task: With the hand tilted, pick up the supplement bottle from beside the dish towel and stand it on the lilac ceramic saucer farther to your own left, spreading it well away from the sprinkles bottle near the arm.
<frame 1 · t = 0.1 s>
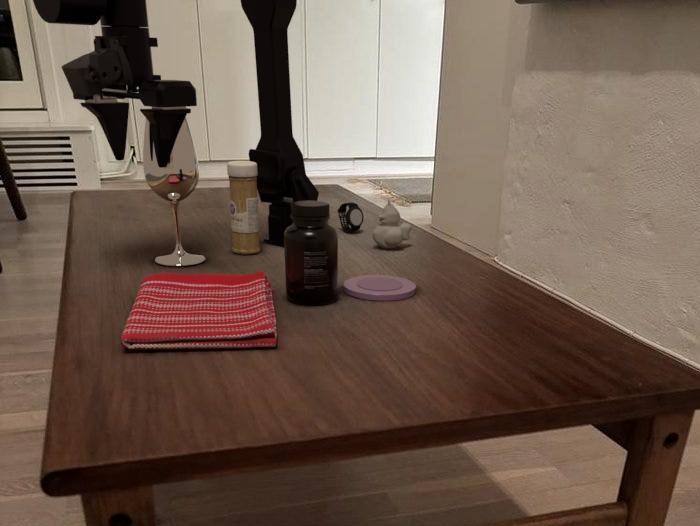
hand: (140, 163, 99), 15 cm above the table, tool pointing down, fingers open, 9 cm apart
sprinkles bottle: (246, 253, 119), on the table
smartwatch: (350, 232, 134), on the table
dish towel: (204, 319, 89), on the table
supplement bottle: (311, 300, 97), on the table
rubber duck: (391, 249, 124), on the table
wineglass: (180, 262, 113), on the table
saucer: (379, 290, 102), on the table
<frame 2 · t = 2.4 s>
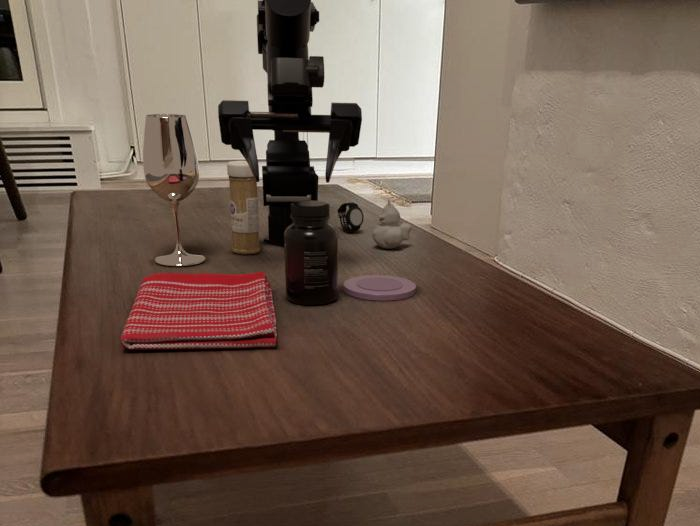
hand: (292, 180, 97), 13 cm above the table, tool tilted 40°, fingers open, 9 cm apart
nothing on the table moved.
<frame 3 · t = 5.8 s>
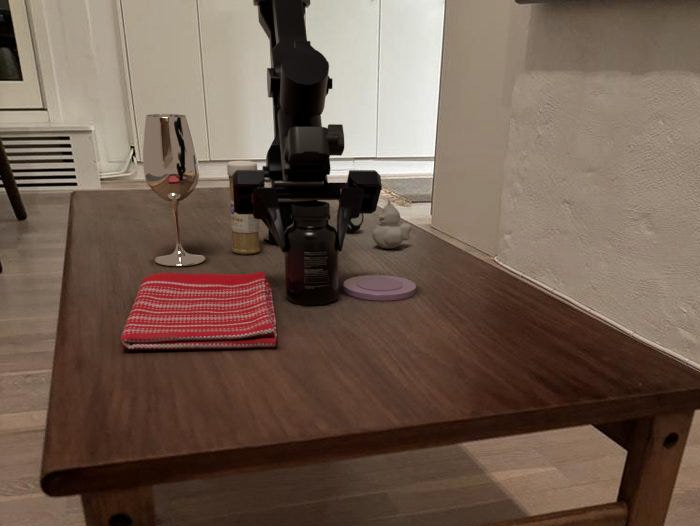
hand: (312, 250, 93), 7 cm above the table, tool tilted 45°, fingers closed on supplement bottle, 7 cm apart
supplement bottle: (311, 300, 97), on the table, touching gripper
everything else where it was.
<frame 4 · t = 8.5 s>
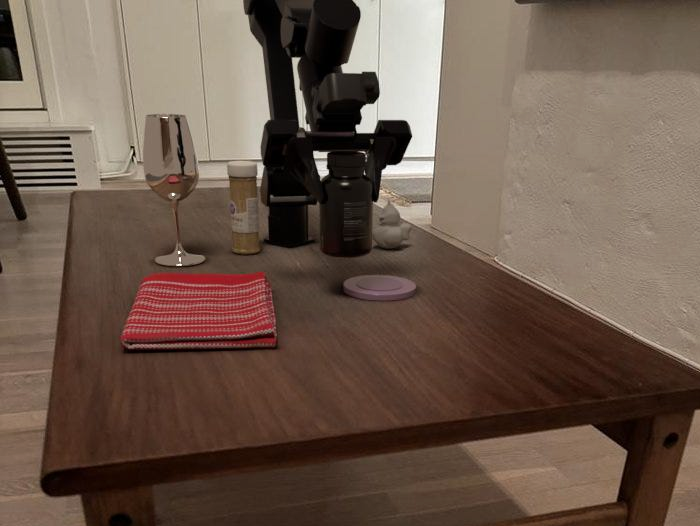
hand: (349, 201, 92), 12 cm above the table, tool tilted 45°, fingers closed on supplement bottle, 7 cm apart
supplement bottle: (345, 254, 96), point 5 cm above the table, touching gripper
everything else where it was.
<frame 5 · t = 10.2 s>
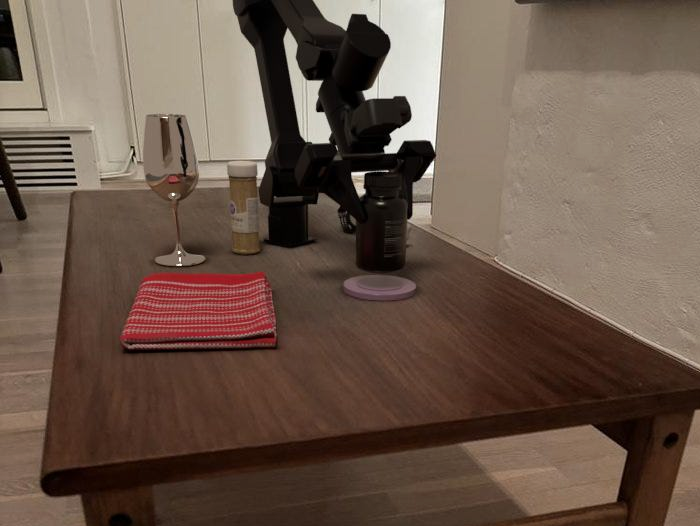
hand: (386, 219, 96), 10 cm above the table, tool tilted 45°, fingers closed on supplement bottle, 7 cm apart
supplement bottle: (379, 269, 100), point 3 cm above the table, touching gripper
everything else where it was.
when the fingers open (8 cm above the table, at t = 11.4 s): supplement bottle stays where it is, resting on saucer.
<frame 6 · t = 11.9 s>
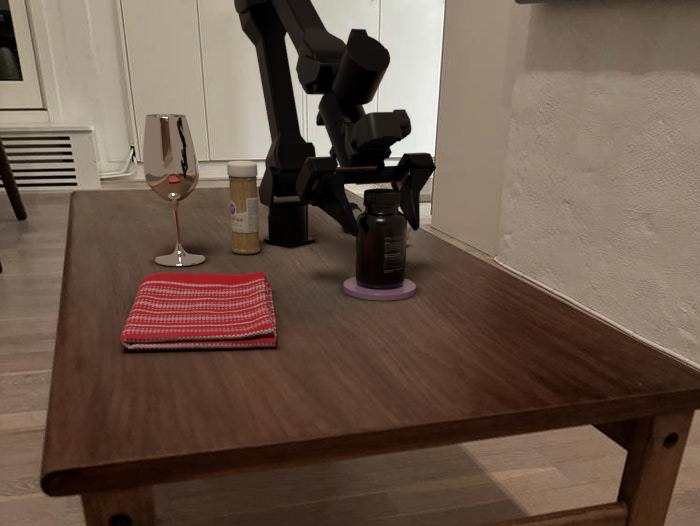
hand: (387, 231, 96), 8 cm above the table, tool tilted 45°, fingers open, 9 cm apart
supplement bottle: (379, 284, 101), point 1 cm above the table, touching saucer
everything else where it was.
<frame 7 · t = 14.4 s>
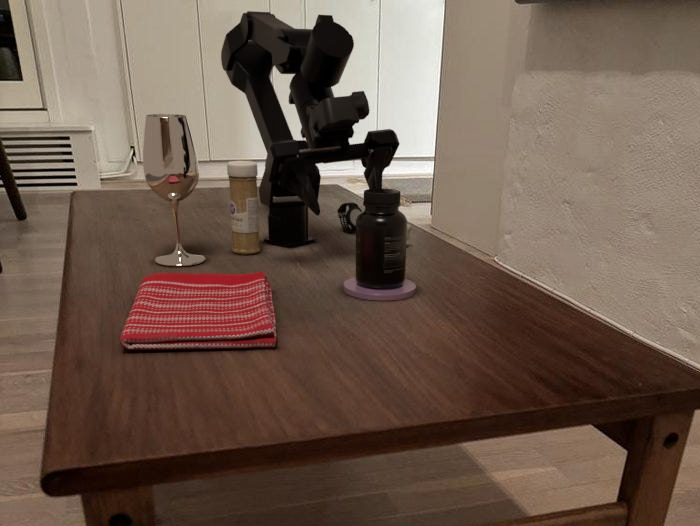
hand: (349, 209, 103), 9 cm above the table, tool tilted 40°, fingers open, 9 cm apart
nothing on the table moved.
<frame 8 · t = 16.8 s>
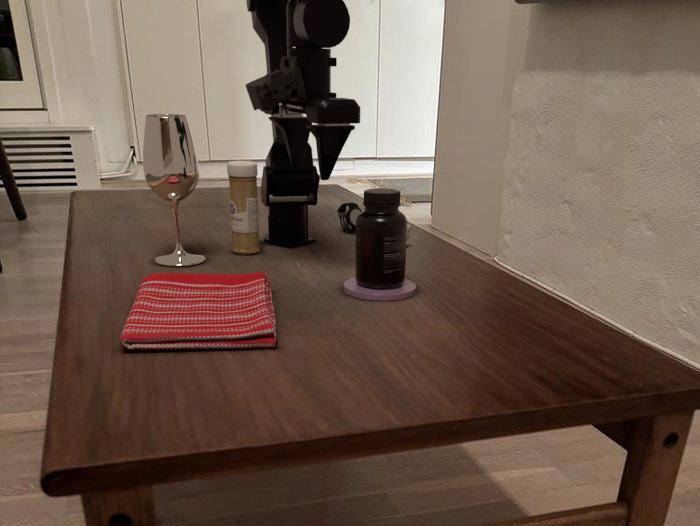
hand: (310, 175, 105), 13 cm above the table, tool pointing down, fingers open, 9 cm apart
nothing on the table moved.
at the end: supplement bottle 0.1 cm off-centre on the saucer, point 0.7 cm above the saucer's base; supplement bottle tilted 0°; supplement bottle inside the target area on the table beside the sprinkles bottle (1.0 cm from its centre), point 0.9 cm above the table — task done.
